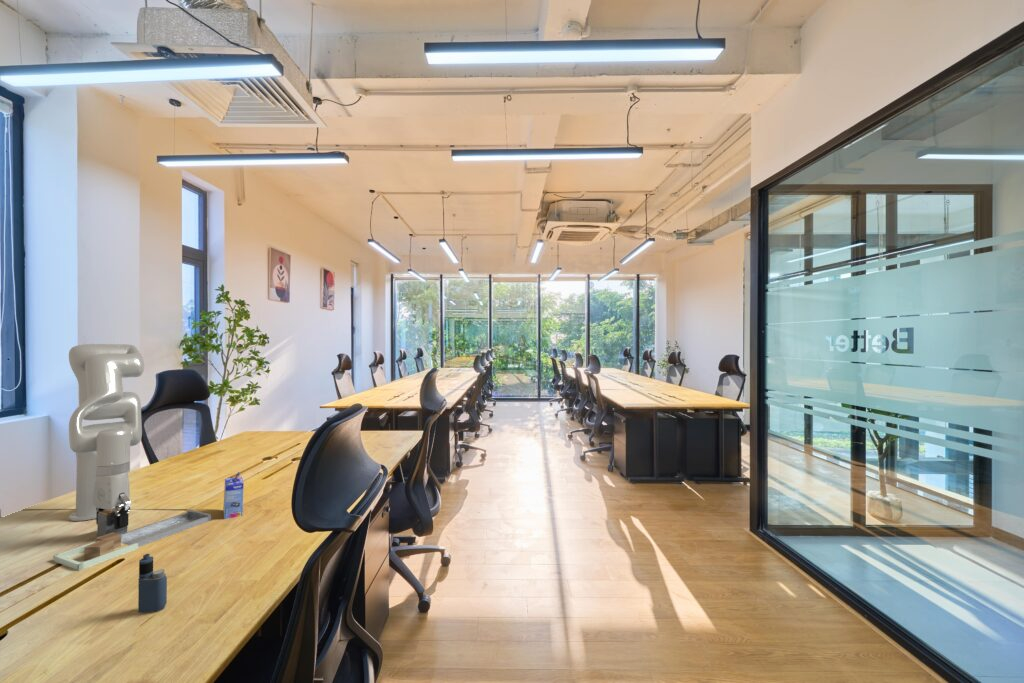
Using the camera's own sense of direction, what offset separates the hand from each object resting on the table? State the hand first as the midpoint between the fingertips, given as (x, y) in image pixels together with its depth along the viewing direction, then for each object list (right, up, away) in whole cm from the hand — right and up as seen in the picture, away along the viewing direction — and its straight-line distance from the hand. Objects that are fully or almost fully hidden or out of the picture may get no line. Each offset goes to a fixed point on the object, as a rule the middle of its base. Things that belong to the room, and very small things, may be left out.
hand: (112, 525), depth 125 cm
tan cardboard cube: (+8, -3, -9) cm, 12 cm away
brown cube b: (+10, -3, -13) cm, 17 cm away
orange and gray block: (0, -4, 0) cm, 4 cm away
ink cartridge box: (+26, -4, +16) cm, 31 cm away
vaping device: (+43, -3, -35) cm, 56 cm away
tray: (+8, -4, -12) cm, 15 cm away
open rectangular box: (+14, -4, +2) cm, 15 cm away
